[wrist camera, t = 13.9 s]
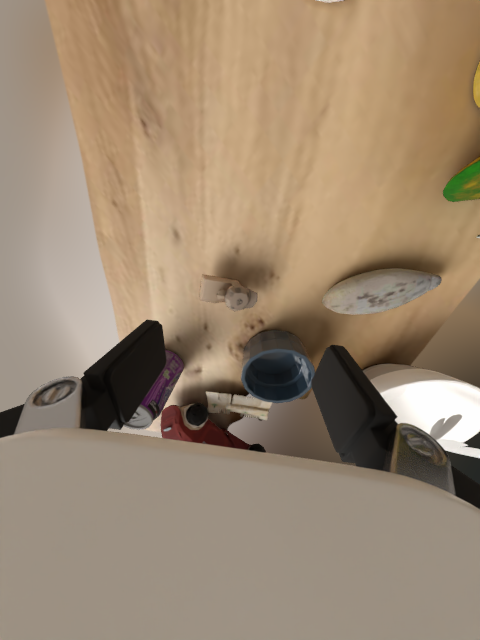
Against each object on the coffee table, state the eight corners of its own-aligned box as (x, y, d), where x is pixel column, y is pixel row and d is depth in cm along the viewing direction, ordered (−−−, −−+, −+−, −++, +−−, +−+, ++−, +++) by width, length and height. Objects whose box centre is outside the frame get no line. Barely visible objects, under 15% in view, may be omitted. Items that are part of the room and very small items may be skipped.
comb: (206, 384, 36) (208, 406, 42) (203, 395, 34) (206, 416, 41) (275, 394, 36) (267, 414, 42) (275, 405, 34) (267, 425, 40)
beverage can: (170, 378, 37) (136, 436, 27) (144, 358, 35) (96, 412, 24) (191, 364, 35) (165, 421, 24) (165, 341, 33) (123, 392, 22)
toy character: (242, 299, 30) (256, 316, 25) (197, 294, 27) (203, 312, 22) (249, 277, 28) (265, 291, 24) (201, 269, 25) (208, 283, 20)
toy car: (232, 454, 51) (225, 501, 42) (157, 405, 42) (128, 453, 34) (272, 445, 44) (272, 499, 36) (191, 385, 36) (167, 438, 27)
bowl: (428, 409, 36) (472, 454, 29) (331, 419, 40) (348, 461, 32) (446, 333, 28) (515, 368, 21) (323, 355, 32) (343, 391, 25)
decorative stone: (424, 296, 26) (447, 304, 23) (318, 316, 28) (326, 326, 25) (434, 254, 23) (461, 257, 20) (316, 281, 26) (325, 287, 23)
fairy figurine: (395, 448, 24) (447, 481, 22) (441, 423, 20) (506, 461, 19) (380, 412, 29) (422, 438, 28) (415, 388, 26) (464, 416, 24)
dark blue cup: (247, 324, 30) (246, 344, 25) (312, 333, 30) (325, 354, 24) (240, 373, 35) (238, 398, 30) (295, 380, 35) (303, 406, 30)
